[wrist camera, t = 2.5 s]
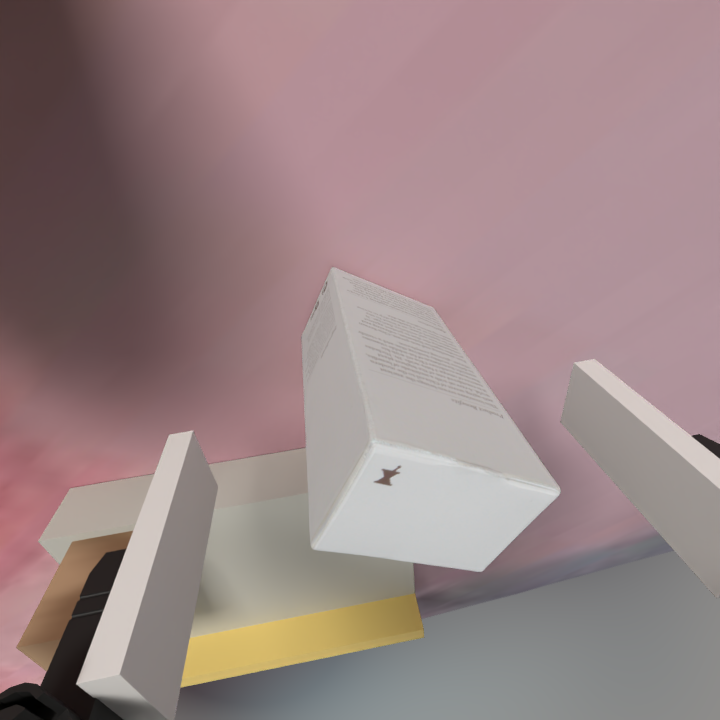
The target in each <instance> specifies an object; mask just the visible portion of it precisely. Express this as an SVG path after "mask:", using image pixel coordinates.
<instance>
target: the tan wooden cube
mask: <svg viewBox="0 0 720 720" xmlns="http://www.w3.org/2000/svg"><path fill="white" fill-rule="evenodd" d="M132 533H133V531H128V532H123V533H117V534H112V535H106V536H100V537H95V538H89V539H84V540H78V541H73V542H72V543H71V545H70V547H69V548H68V550H67V552H66V554H65V556H64V558H63V560H62V562H61V564H60V566H59V567H58V569H57V571H56V573H55V575H54V577H53V579H52V581H51V583H50V585H49V586H48V588H47V590H46V592H45V594H44V596H43V598H42V600H41V602H40V604H39V605H38V607H37V609H36V611H35V613H34V615H33V617H32V619H31V621H30V623H29V624H28V626H27V628H26V630H25V632H24V634H23V636H22V638H21V640H20V642H19V643H18V645H17V647H16V648H17V649H18V650H20V651H21V652H22V653H24V654H25V655H26V656H28V657H29V658H30V659H31V660H33V661H34V662H35V663H37V664H38V665H39V666H40V667H42V668H43V669H44V670H46V671H47V670H48V668H49V665H50V663H51V661H52V658H53V656H54V654H55V652H56V649H57V647H58V645H59V642H60V640H61V638H62V635H63V633H64V631H65V629H66V626H67V624H68V622H69V620H71V618H72V616H71V615H72V612H73V610H74V608H75V606H76V603H77V601H79V600H80V594H81V592H82V589H83V587H84V585H85V582H86V580H87V578H88V576H89V573H90V572H91V571H92V570H93V568H94V567H95V566H96V565H97V563H98V562H99V561H100V560H101V558H102V557H103V556H104V554H105V553H106V552H111V551H116V550H122V549H127V546H128V544H129V541H130V538H131V536H132Z"/></svg>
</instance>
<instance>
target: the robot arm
mask: <svg viewBox="0 0 720 720" xmlns="http://www.w3.org/2000/svg"><path fill="white" fill-rule="evenodd" d="M560 422H561V423H562V424H563V426H564V427H565V428H566V429H567V430H568V431H569V432H570V433H571V435H572V436H573V437H574V438H575V439H576V440H577V441H578V442H579V444H580V445H581V446H582V447H583V448H584V449H585V450H586V452H587V453H588V454H589V455H590V456H591V457H592V458H593V459H594V461H595V462H596V463H597V464H598V465H599V466H600V467H601V468H602V470H603V471H604V472H605V473H606V474H607V475H608V476H609V477H610V479H611V480H612V481H613V482H614V483H615V484H616V485H617V486H618V488H619V489H620V490H621V491H622V492H623V493H624V494H625V496H626V497H627V498H628V499H629V500H630V501H631V502H632V503H633V505H634V506H635V507H636V508H637V509H638V510H639V511H640V512H641V514H642V515H643V516H644V517H645V518H646V519H647V520H648V521H649V523H650V524H651V525H652V526H653V527H654V528H655V529H656V530H657V532H658V533H659V534H660V535H661V536H662V537H663V538H664V539H665V541H666V542H667V543H668V544H669V545H670V546H671V547H672V549H673V550H674V551H675V552H676V553H677V554H678V555H679V556H680V558H681V559H682V560H683V561H684V562H685V563H686V564H687V565H688V566H689V568H690V569H691V570H692V571H693V572H694V573H695V574H696V575H697V577H698V578H699V579H700V580H701V581H702V582H703V583H704V585H705V586H706V587H707V588H708V589H709V590H710V591H711V593H712V594H713V595H714V596H715V597H716V598H720V444H718V443H716V442H714V441H712V440H710V439H708V438H706V437H704V436H702V435H700V434H698V435H693V436H690V435H689V434H688V433H687V432H685V431H684V430H683V429H682V428H680V427H679V426H678V425H677V424H675V423H674V422H673V421H672V420H670V419H669V418H668V417H667V416H665V415H664V414H663V413H662V412H660V411H659V410H658V409H657V408H655V407H654V406H653V405H652V404H650V403H649V402H648V401H647V400H645V399H644V398H643V397H641V396H640V395H639V394H638V393H636V392H635V391H634V390H633V389H631V388H630V387H629V386H628V385H626V384H625V383H624V382H623V381H621V380H620V379H619V378H618V377H616V376H615V375H614V374H613V373H611V372H610V371H609V370H608V369H606V368H605V367H604V366H603V365H601V364H600V363H599V362H598V361H596V360H595V359H592V360H586V361H581V362H575V363H574V364H573V369H572V373H571V377H570V382H569V386H568V390H567V395H566V399H565V403H564V408H563V412H562V416H561V421H560ZM217 491H218V485H217V483H216V481H215V478H214V476H213V474H212V472H211V469H210V467H209V465H208V463H207V460H206V458H205V456H204V454H203V452H202V449H201V447H200V445H199V443H198V440H197V438H196V436H195V434H194V431H188V432H182V433H177V434H171V435H169V436H168V439H167V442H166V444H165V447H164V450H163V453H162V455H161V458H160V461H159V463H158V466H157V469H156V471H155V474H154V477H153V479H152V482H151V485H150V487H149V490H148V493H147V495H146V498H145V501H144V503H143V506H142V509H141V512H140V514H139V517H138V520H137V522H136V525H135V528H134V530H133V533H132V536H131V538H130V541H129V544H128V546H127V549H122V550H116V551H111V552H106V553H105V554H104V556H103V557H102V558H101V560H100V561H99V562H98V563H97V565H96V566H95V567H94V568H93V570H92V571H91V572H90V573H89V576H88V578H87V580H86V582H85V585H84V587H83V589H82V592H81V594H80V600H79V601H77V603H76V606H75V608H74V610H73V612H72V615H71V616H72V618H71V620H69V622H68V624H67V626H66V629H65V631H64V633H63V635H62V638H61V640H60V642H59V645H58V647H57V649H56V652H55V654H54V656H53V658H52V661H51V663H50V665H49V668H48V670H47V672H46V675H45V677H44V679H43V682H42V684H41V686H39V685H38V684H32V683H22V684H19V685H16V686H13V687H10V688H8V689H7V690H5V691H4V692H2V693H1V694H0V720H174V719H175V713H176V708H177V703H178V697H179V692H180V687H181V682H182V676H183V671H184V666H185V660H186V655H187V650H188V644H189V639H190V634H191V629H192V623H193V618H194V613H195V607H196V602H197V597H198V591H199V586H200V581H201V576H202V570H203V565H204V560H205V554H206V549H207V544H208V538H209V533H210V528H211V523H212V517H213V512H214V507H215V501H216V496H217Z"/></svg>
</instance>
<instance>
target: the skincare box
mask: <svg viewBox="0 0 720 720" xmlns="http://www.w3.org/2000/svg"><path fill="white" fill-rule="evenodd" d="M301 340H302V365H303V387H304V412H305V434H306V460H307V481H308V506H309V532H310V544H311V547H312V549H314V550H317V551H326V552H335V553H344V554H353V555H362V556H369V557H376V558H384V559H391V560H398V561H404V562H411V563H418V564H425V565H433V566H440V567H448V568H455V569H462V570H470V571H475V572H482V571H484V569H485V568H486V567H487V566H488V565H489V564H490V563H491V562H492V561H493V560H494V559H495V558H496V557H497V556H498V555H499V554H500V553H501V552H502V551H503V550H504V549H505V548H506V547H507V546H508V545H509V544H510V543H511V542H512V541H513V540H514V539H515V538H516V537H517V536H518V535H519V534H520V533H521V532H522V531H523V530H524V529H525V528H526V527H527V526H528V525H529V524H530V523H531V522H532V521H533V520H534V519H535V518H536V517H537V516H538V515H539V514H540V513H541V512H542V511H543V510H544V509H546V508H547V507H548V506H549V505H550V504H551V503H552V502H553V501H554V500H555V499H556V498H557V497H558V496H559V495H560V493H561V489H560V487H559V486H558V484H557V483H556V481H555V480H554V479H553V477H552V476H551V474H550V473H549V472H548V470H547V469H546V467H545V466H544V465H543V463H542V462H541V460H540V459H539V457H538V456H537V454H536V453H535V452H534V450H533V449H532V448H531V446H530V444H529V443H528V442H527V440H526V439H525V437H524V436H523V435H522V433H521V432H520V430H519V429H518V427H517V426H516V424H515V423H514V422H513V420H512V419H511V417H510V416H509V415H508V413H507V412H506V410H505V409H504V407H503V406H502V405H501V403H500V402H499V401H498V399H497V398H496V396H495V395H494V393H493V392H492V390H491V389H490V387H489V386H488V385H487V383H486V382H485V380H484V379H483V377H482V376H481V374H480V373H479V372H478V370H477V369H476V368H475V366H474V365H473V363H472V362H471V360H470V359H469V358H468V356H467V355H466V353H465V352H464V351H463V349H462V348H461V346H460V345H459V343H458V342H457V341H456V339H455V338H454V336H453V335H452V333H451V332H450V331H449V329H448V328H447V326H446V325H445V323H444V322H443V321H442V319H441V318H440V316H439V315H438V313H437V312H436V311H435V309H434V308H433V307H431V306H428V305H426V304H423V303H421V302H418V301H416V300H413V299H411V298H409V297H406V296H404V295H401V294H399V293H396V292H394V291H391V290H389V289H387V288H384V287H381V286H379V285H376V284H374V283H372V282H369V281H367V280H364V279H362V278H359V277H357V276H354V275H352V274H349V273H347V272H345V271H342V270H339V269H337V268H335V267H332V268H331V270H330V272H329V274H328V277H327V279H326V281H325V283H324V286H323V288H322V290H321V292H320V295H319V297H318V299H317V301H316V304H315V306H314V309H313V311H312V314H311V316H310V318H309V320H308V323H307V325H306V327H305V329H304V332H303V334H302V337H301Z"/></svg>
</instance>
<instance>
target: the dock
mask: <svg viewBox="0 0 720 720" xmlns="http://www.w3.org/2000/svg"><path fill="white" fill-rule="evenodd" d="M209 467H210V469H211V472H212V474H213V476H214V478H215V481H216V483H217V485H218V491H217V496H216V501H215V507H214V512H213V517H212V523H211V528H210V533H209V538H208V544H207V549H206V554H205V560H204V565H203V570H202V576H201V581H200V586H199V591H198V597H197V602H196V607H195V613H194V618H193V623H192V629H191V634H190V639H189V644H188V650H187V655H186V660H185V666H184V671H183V676H182V682H181V687H185V686H190V685H195V684H200V683H205V682H209V681H214V680H219V679H224V678H229V677H233V676H239V675H244V674H248V673H253V672H258V671H263V670H268V669H273V668H277V667H282V666H287V665H292V664H297V663H302V662H307V661H312V660H317V659H322V658H326V657H331V656H336V655H341V654H346V653H351V652H356V651H360V650H365V649H370V648H375V647H380V646H385V645H390V644H395V643H399V642H404V641H409V640H414V639H419V638H423V637H424V629H423V624H422V620H421V616H420V612H419V608H418V604H417V600H416V596H415V586H414V567H413V563H411V562H404V561H398V560H391V559H384V558H376V557H369V556H362V555H353V554H344V553H335V552H326V551H317V550H314V549H312V547H311V544H310V532H309V506H308V481H307V460H306V448H301V449H296V450H290V451H284V452H278V453H272V454H267V455H261V456H255V457H249V458H243V459H238V460H232V461H226V462H220V463H214V464H209ZM153 477H154V474H151V475H145V476H139V477H133V478H127V479H122V480H116V481H110V482H104V483H98V484H93V485H87V486H81V487H75V488H70V490H69V491H68V493H67V495H66V496H65V498H64V500H63V501H62V503H61V504H60V506H59V508H58V509H57V511H56V513H55V514H54V516H53V518H52V519H51V521H50V523H49V524H48V526H47V528H46V529H45V531H44V533H43V534H42V536H41V537H40V539H39V541H38V542H39V543H40V544H41V545H42V546H43V547H44V548H45V549H46V550H47V551H48V553H49V554H50V555H51V556H52V557H53V558H54V559H55V560H56V561H57V562H58V563H59V565H60V564H61V562H62V560H63V558H64V556H65V554H66V552H67V550H68V548H69V547H70V545H71V543H72V542H73V541H78V540H84V539H89V538H95V537H100V536H106V535H112V534H117V533H123V532H128V531H133V530H134V528H135V525H136V522H137V520H138V517H139V514H140V512H141V509H142V506H143V503H144V501H145V498H146V495H147V493H148V490H149V487H150V485H151V482H152V479H153Z"/></svg>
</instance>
